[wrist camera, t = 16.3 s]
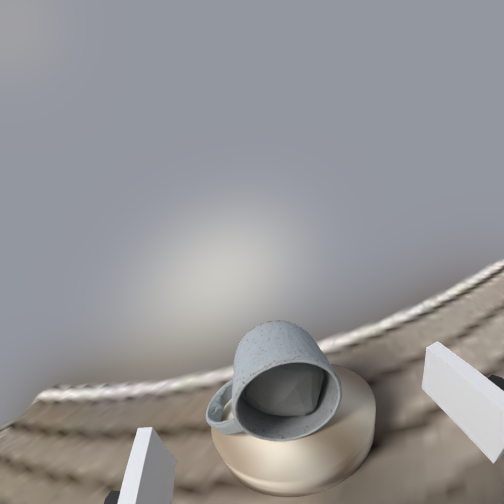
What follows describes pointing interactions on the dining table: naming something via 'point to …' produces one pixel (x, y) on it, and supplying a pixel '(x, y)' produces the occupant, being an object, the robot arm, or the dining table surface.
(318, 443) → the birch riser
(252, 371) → the ceramic mug
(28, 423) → the dining table surface
